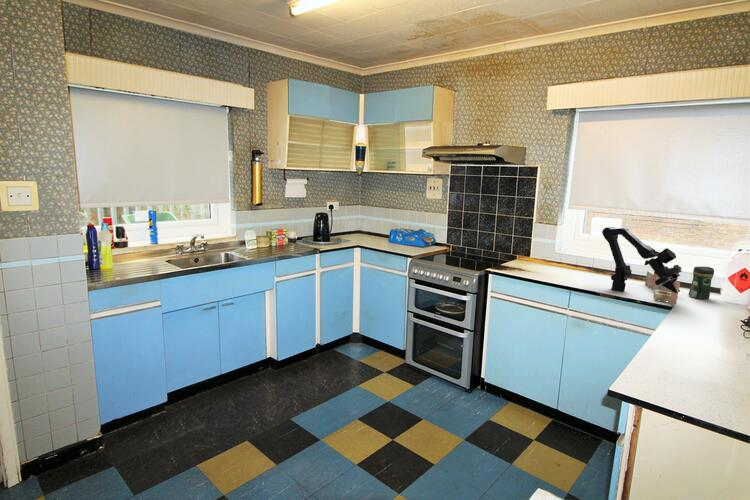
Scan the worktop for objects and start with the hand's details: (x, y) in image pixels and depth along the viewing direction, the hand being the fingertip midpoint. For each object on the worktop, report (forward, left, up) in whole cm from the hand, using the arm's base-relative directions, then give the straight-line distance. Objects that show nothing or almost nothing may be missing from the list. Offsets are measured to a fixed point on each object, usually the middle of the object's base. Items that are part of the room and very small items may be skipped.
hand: (677, 292), depth 231 cm
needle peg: (-1, +1, -7) cm, 7 cm away
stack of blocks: (-7, +30, -8) cm, 32 cm away
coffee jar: (+13, +28, -8) cm, 31 cm away
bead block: (-5, +9, -8) cm, 13 cm away
